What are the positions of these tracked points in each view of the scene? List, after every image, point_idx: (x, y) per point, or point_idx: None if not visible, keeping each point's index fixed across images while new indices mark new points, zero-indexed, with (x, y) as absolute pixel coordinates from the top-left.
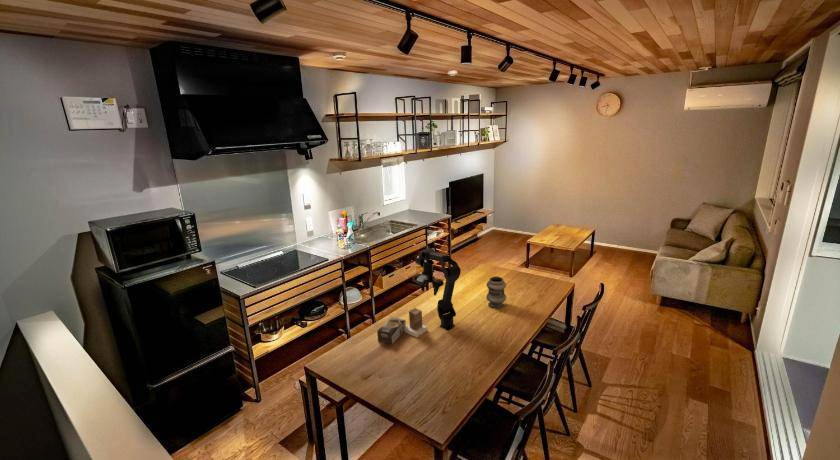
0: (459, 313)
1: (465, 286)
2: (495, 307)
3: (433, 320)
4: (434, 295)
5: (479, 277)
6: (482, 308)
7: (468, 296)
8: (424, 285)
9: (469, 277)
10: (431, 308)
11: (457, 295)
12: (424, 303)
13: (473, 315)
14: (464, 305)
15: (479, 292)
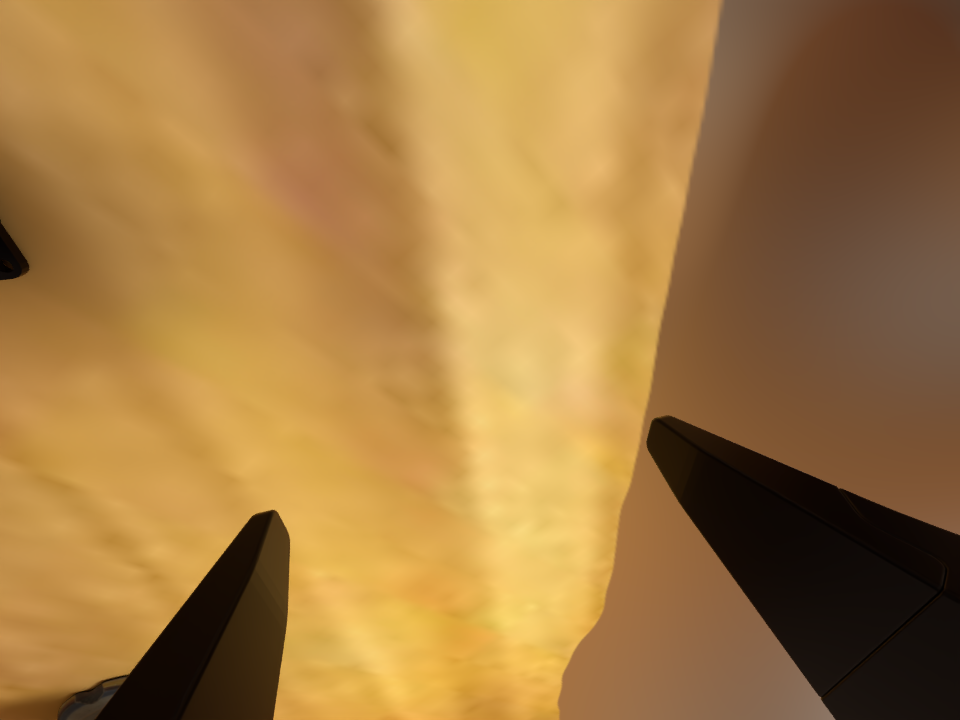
0: (189, 488)
1: (503, 642)
2: (79, 707)
3: (215, 181)
4: (258, 520)
5: (509, 701)
6: (154, 638)
7: (396, 623)
8: (754, 591)
9: (549, 674)
10: (475, 357)
11: (463, 584)
12: (588, 367)
13: (57, 557)
14: (301, 568)
15: (385, 673)
